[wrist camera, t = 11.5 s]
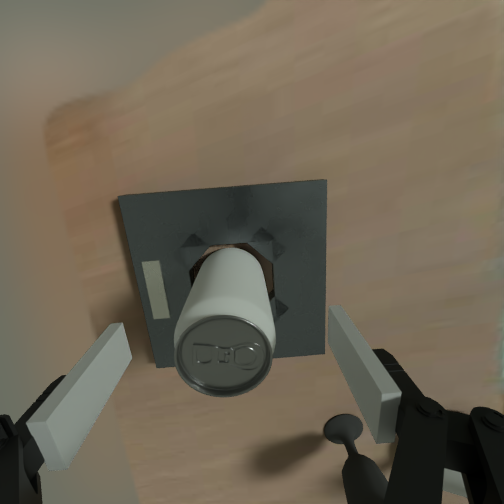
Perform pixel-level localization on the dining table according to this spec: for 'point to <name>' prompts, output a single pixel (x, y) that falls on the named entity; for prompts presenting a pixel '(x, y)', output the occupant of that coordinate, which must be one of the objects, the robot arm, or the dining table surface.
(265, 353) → the can
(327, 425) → the sundae
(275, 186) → the socket plate
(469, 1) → the dining table surface
